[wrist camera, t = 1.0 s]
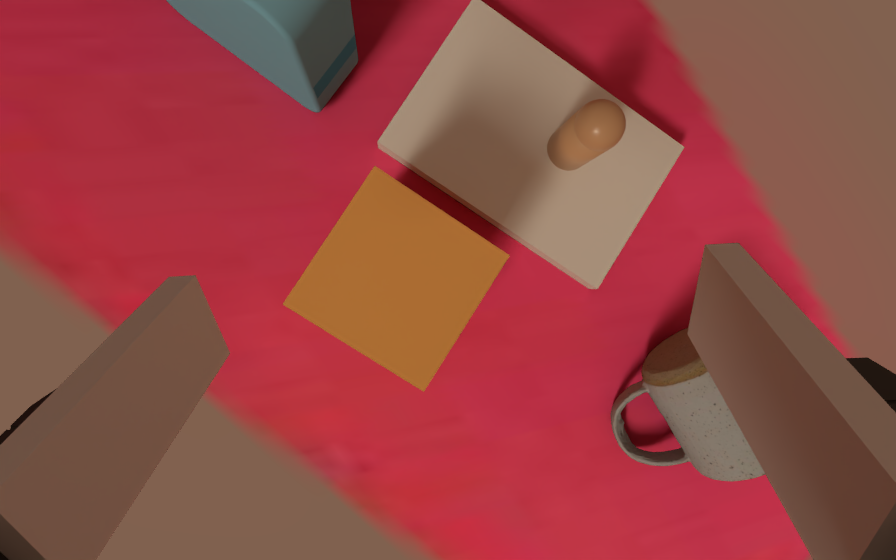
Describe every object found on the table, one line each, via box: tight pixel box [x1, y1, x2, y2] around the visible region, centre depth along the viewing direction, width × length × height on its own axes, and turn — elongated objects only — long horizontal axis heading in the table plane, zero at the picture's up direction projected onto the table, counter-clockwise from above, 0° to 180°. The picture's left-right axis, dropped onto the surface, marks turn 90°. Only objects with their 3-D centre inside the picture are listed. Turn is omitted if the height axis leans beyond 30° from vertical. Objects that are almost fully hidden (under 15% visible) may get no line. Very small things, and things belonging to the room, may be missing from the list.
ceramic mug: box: [611, 327, 765, 481], centre depth 33 cm, size 11×8×8 cm
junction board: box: [378, 0, 684, 289], centre depth 31 cm, size 18×12×8 cm, turn 57°
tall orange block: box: [283, 166, 510, 391], centre depth 29 cm, size 8×8×10 cm
